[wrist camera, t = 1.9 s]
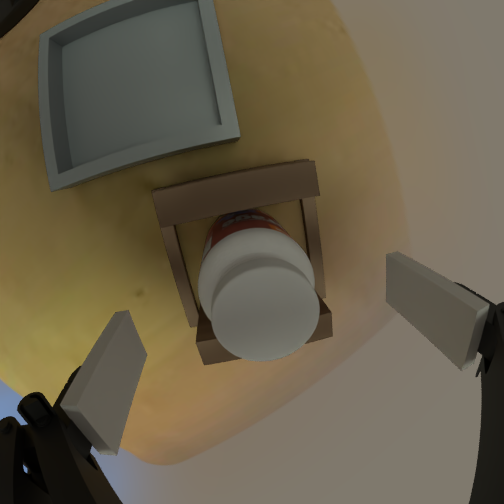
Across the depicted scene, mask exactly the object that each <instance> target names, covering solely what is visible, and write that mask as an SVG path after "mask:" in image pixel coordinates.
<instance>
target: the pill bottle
mask: <svg viewBox="0 0 504 504" xmlns="http://www.w3.org/2000/svg"><path fill="white" fill-rule="evenodd" d="M314 287H315V279H314V272H313V268H312V265H311V263H310V260H309V258H308V257H307V255H306V254H305V252H304V251H303V249H302V248H301V247H300V246H299V244H298V243H297V242H296V241H295V240H294V239H293V238H292V237H291V236H290V235H289V234H288V233H287V232H286V231H285V230H284V229H283V228H282V227H281V226H280V225H279V223H278V222H277V221H276V220H275V219H274V218H272V217H271V216H270V215H268V214H267V213H265V212H263V211H260V210H257V209H252V208H251V209H246V210H241V211H236V212H232V213H227V214H224V215H223V216H221V217H220V218H219V219H218V220H217V221H216V222H215V223H214V224H213V225H212V227H211V229H210V230H209V233H208V235H207V238H206V242H205V247H204V252H203V257H202V262H201V267H200V272H199V279H198V294H199V299H200V303H201V306H202V308H203V310H204V312H205V314H206V315H207V317H208V318H209V319H210V321H211V323H212V328H213V331H214V334H215V336H216V338H217V339H218V341H219V342H220V344H221V345H222V346H223V347H224V348H225V349H226V350H228V351H229V352H230V353H232V354H233V355H235V356H237V357H240V358H243V359H246V360H250V361H271V360H276V359H280V358H283V357H285V356H288V355H290V354H291V353H293V352H295V351H296V350H298V349H299V348H300V347H302V346H303V345H304V344H305V343H306V342H307V341H308V340H309V338H310V337H311V335H312V334H313V332H314V330H315V329H316V326H317V323H318V320H319V313H320V305H319V300H318V297H317V294H316V292H315V290H314Z"/></svg>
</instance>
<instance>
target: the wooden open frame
mask: <svg viewBox="0 0 504 504" xmlns="http://www.w3.org/2000/svg"><path fill="white" fill-rule="evenodd" d="M152 196H153V200H154V204H155V208H156V212H157V216H158V220H159V224H160V228H161V232H162V236H163V240H164V243H165V247H166V251H167V254H168V258H169V261H170V265H171V268H172V272H173V275H174V278H175V282H176V285H177V288H178V291H179V295H180V298H181V301H182V304H183V307H184V310H185V313H186V316H187V319H188V322H189V325H190V327H196V326H197V335H196V345H197V347H198V350H199V353H200V356H201V358H202V361H203V364H204V365H209V364H215V363H220V362H226V361H231V360H237V359H242V358H240V357H237V356H235V355H233V354H232V353H230V352H229V351H228V350H226V349H225V348H224V347H223V346H222V345H221V344H220V342H219V341H218V339H217V338H216V336H215V334H214V331H213V328H212V323H211V321H210V319H209V318H208V317H207V315H206V314H205V312H204V310H203V308H202V306H201V303H200V308H199V311H198V307H197V304H196V301H195V298H194V294H193V291H192V287H191V284H190V280H189V277H188V273H187V270H186V266H185V263H184V259H183V255H182V252H181V248H180V244H179V240H178V236H177V232H176V228H175V225H177V224H182V223H186V222H190V221H195V220H199V219H204V218H208V217H213V216H217V215H222V214H227V213H232V212H236V211H241V210H246V209H251V208H256V207H261V206H266V205H271V204H277V203H282V202H287V201H293V200H298V199H300V201H301V207H302V214H303V221H304V228H305V235H306V243H307V251H308V258H309V260H310V263H311V265H312V268H313V272H314V279H315V287H314V290H315V292H316V294H317V297H318V300H319V305H320V313H319V320H318V323H317V326H316V329H315V330H314V332H313V334H312V335H311V337H310V338H309V340H308V341H307V342H306V343H305V344H307V343H310V342H314V341H318V340H321V339H325V338H328V337H332V336H333V332H332V313H331V311H330V310H329V308H328V307H327V305H326V304H325V303H324V301H323V300H322V299H323V298H326V294H325V282H324V271H323V261H322V251H321V242H320V234H319V225H318V218H317V210H316V203H315V196H320V193H319V186H318V179H317V173H316V167H315V161H309V159H304V160H297V161H292V162H284V163H277V164H271V165H266V166H260V167H254V168H249V169H244V170H239V171H233V172H228V173H224V174H219V175H214V176H209V177H205V178H200V179H196V180H192V181H187V182H183V183H179V184H175V185H171V186H168V187H163V188H159V189H155V190H152Z"/></svg>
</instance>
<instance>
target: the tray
mask: <svg viewBox="0 0 504 504" xmlns="http://www.w3.org/2000/svg"><path fill="white" fill-rule="evenodd" d="M38 94H39V113H40V125H41V134H42V143H43V150H44V157H45V163H46V169H47V175H48V180H49V185H50V190H51V192H53V191H57V190H62V189H66V188H71V187H73V186H76V185H79V184H81V183H84V182H87V181H90V180H92V179H95V178H98V177H101V176H104V175H107V174H110V173H113V172H116V171H119V170H122V169H126V168H129V167H132V166H135V165H139V164H142V163H146V162H149V161H153V160H156V159H160V158H164V157H168V156H172V155H176V154H180V153H184V152H188V151H192V150H196V149H201V148H205V147H210V146H215V145H220V144H225V143H230V142H235V141H238V140H239V138H240V137H241V135H240V130H239V125H238V120H237V115H236V110H235V105H234V100H233V95H232V90H231V85H230V80H229V75H228V70H227V65H226V60H225V56H224V51H223V46H222V41H221V36H220V31H219V27H218V22H217V17H216V12H215V8H214V3H213V0H110V1H107V2H105V3H102V4H100V5H97V6H95V7H93V8H91V9H88V10H86V11H84V12H82V13H80V14H77V15H75V16H73V17H71V18H69V19H67V20H65V21H64V22H62V23H60V24H58V25H56V26H54V27H52V28H51V29H49V30H47V31H45V32H44V33H42V34H40V41H39V59H38Z"/></svg>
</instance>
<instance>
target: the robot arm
mask: <svg viewBox="0 0 504 504" xmlns="http://www.w3.org/2000/svg"><path fill="white" fill-rule="evenodd" d="M37 1H38V0H0V37H2V36H3V35H4V34H5V33H6V32H8V31H9V30H10V29H11V28H12V27H13V26H14V25H15V24H16V23H17V22H19V21H20V20H21V19H22V18H23V17H24V16H25V14H26V13H27V12H28V11H29V10H30V9H31V8H32V7H33V6H34V5H35V4H36V2H37ZM386 302H387V303H388V304H389V305H390V306H392V307H393V308H394V309H395V310H396V311H397V312H398V313H400V314H401V315H402V316H403V317H404V318H405V319H406V320H407V321H408V322H410V323H411V324H412V325H413V326H414V327H415V328H416V329H417V330H419V331H420V332H421V333H422V334H423V335H424V336H425V337H426V338H427V339H428V340H429V341H430V342H431V343H433V344H434V345H435V346H436V347H437V348H438V349H439V350H440V351H441V352H442V353H443V354H444V355H445V356H446V357H447V358H448V359H450V360H451V362H452V363H454V364H455V365H456V366H457V367H458V368H459V369H460V370H461V371H463V370H464V369H466V368H467V367H469V366H470V365H472V364H473V363H474V361H475V358H476V355H477V352H479V353H480V354H482V358H481V362H480V364H479V367H478V370H477V373H476V377H478V375H479V372H480V371H481V383H482V384H481V388H482V410H481V430H480V442H479V451H478V459H477V467H476V472H475V478H474V483H473V488H472V493H471V498H470V501H469V504H504V302H502V303H499V304H498V305H495V304H494V303H492V302H490V301H489V300H487V299H485V298H484V297H482V296H481V295H479V294H476V292H474V291H472V290H470V289H469V288H467V287H466V286H464V285H462V284H459V283H456V282H452V281H451V280H449V279H447V278H445V277H444V276H442V275H440V274H438V273H436V272H435V271H433V270H431V269H430V268H428V267H426V266H424V265H422V264H420V263H419V262H417V261H415V260H413V259H411V258H409V257H408V256H406V255H404V254H402V253H400V252H398V251H397V252H393V253H389V254H386ZM146 357H147V353H146V351H145V349H144V346H143V344H142V342H141V340H140V337H139V335H138V333H137V330H136V328H135V325H134V323H133V320H132V318H131V315H130V313H129V310H126V311H120V312H115V314H114V315H113V317H112V318H111V320H110V321H109V323H108V324H107V326H106V327H105V329H104V331H103V332H102V334H101V335H100V337H99V338H98V340H97V342H96V343H95V345H94V346H93V348H92V350H91V351H90V353H89V355H88V356H87V358H86V360H85V361H84V363H83V365H82V366H79V367H78V368H77V369H76V370H75V371H74V372H73V373H72V374H71V376H70V378H69V379H68V383H66V384H65V386H64V389H63V390H62V391H61V393H60V395H59V397H58V398H57V400H56V402H55V404H54V406H53V407H52V406H51V405H50V403H49V402H48V401H47V399H46V398H45V396H44V395H43V394H42V393H40V392H33V393H30V394H28V395H27V396H25V397H24V398H23V399H22V400H21V401H20V403H19V405H18V408H17V411H18V412H19V414H20V415H21V416H22V417H23V418H24V420H25V421H26V422H27V423H28V425H20V423H19V422H18V421H17V420H16V418H14V417H12V416H9V417H6V418H3V419H2V420H0V504H123V503H122V502H121V500H120V499H119V497H118V496H117V494H116V493H115V491H114V490H113V488H112V487H111V485H110V483H109V482H108V480H107V479H106V477H105V475H104V473H103V472H102V470H101V468H100V466H99V465H98V463H97V461H96V459H95V457H94V456H93V455H92V454H91V453H90V450H91V447H92V446H93V447H94V448H95V449H96V450H97V451H98V452H99V453H100V454H104V455H117V453H118V449H119V446H120V442H121V438H122V435H123V431H124V428H125V424H126V421H127V417H128V414H129V410H130V407H131V404H132V400H133V397H134V394H135V391H136V388H137V385H138V381H139V378H140V375H141V372H142V369H143V366H144V363H145V360H146ZM23 465H24V466H26V467H27V468H28V472H27V473H25V472H24V469H23Z"/></svg>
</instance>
